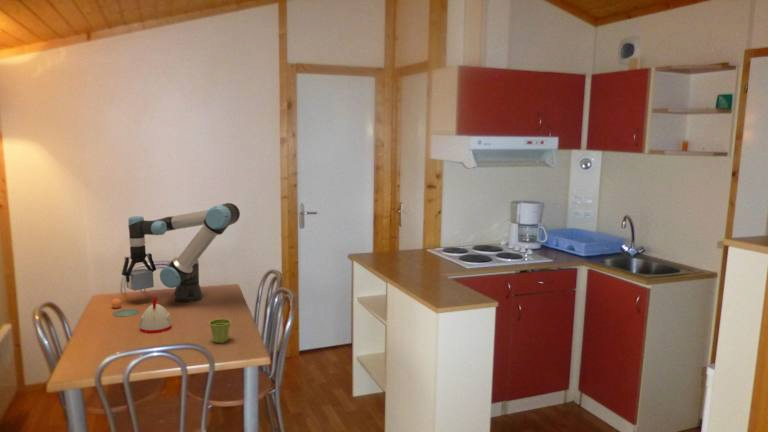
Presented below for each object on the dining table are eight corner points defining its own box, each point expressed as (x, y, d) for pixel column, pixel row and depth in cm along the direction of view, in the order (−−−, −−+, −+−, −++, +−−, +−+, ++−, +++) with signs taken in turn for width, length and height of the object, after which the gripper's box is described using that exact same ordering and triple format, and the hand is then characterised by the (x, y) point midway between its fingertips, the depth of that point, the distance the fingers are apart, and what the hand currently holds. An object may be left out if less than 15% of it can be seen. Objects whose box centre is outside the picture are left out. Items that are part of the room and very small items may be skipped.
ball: (124, 306, 301) (123, 297, 300) (117, 309, 296) (117, 300, 296) (115, 306, 302) (115, 296, 302) (109, 308, 297) (108, 299, 297)
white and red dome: (137, 334, 260) (136, 302, 258) (142, 325, 274) (140, 294, 272) (170, 332, 264) (169, 301, 262) (172, 323, 277) (171, 293, 275)
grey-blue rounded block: (153, 287, 308) (152, 271, 307) (134, 290, 301) (133, 274, 300) (145, 283, 315) (144, 268, 314) (126, 287, 308) (125, 271, 307)
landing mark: (144, 310, 295) (144, 310, 295) (128, 317, 284) (128, 317, 284) (123, 308, 298) (123, 308, 298) (107, 315, 287) (107, 315, 287)
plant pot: (205, 340, 255) (205, 321, 253) (224, 335, 261) (224, 317, 260) (215, 346, 248) (215, 326, 247) (235, 341, 254) (234, 322, 253)
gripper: (155, 241, 316) (157, 280, 319) (112, 247, 300) (115, 288, 303) (161, 243, 311) (163, 283, 314) (118, 249, 295) (121, 291, 297)
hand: (140, 285), depth 308 cm, fingers closed on grey-blue rounded block, 10 cm apart
